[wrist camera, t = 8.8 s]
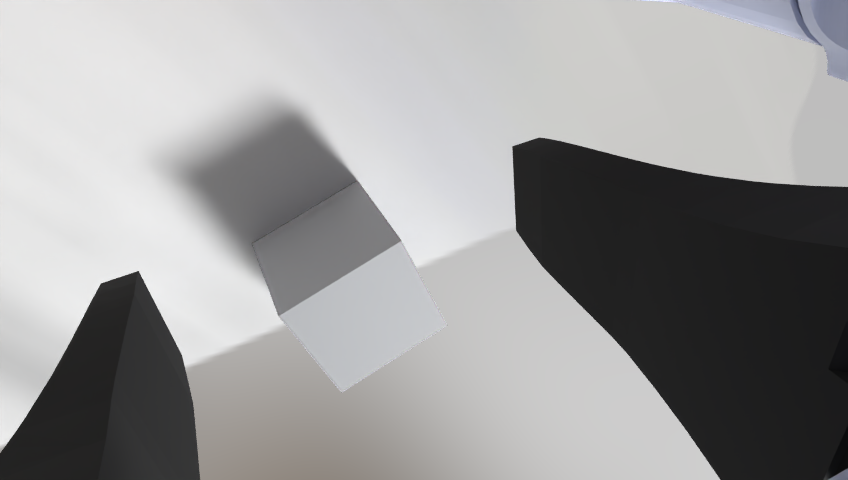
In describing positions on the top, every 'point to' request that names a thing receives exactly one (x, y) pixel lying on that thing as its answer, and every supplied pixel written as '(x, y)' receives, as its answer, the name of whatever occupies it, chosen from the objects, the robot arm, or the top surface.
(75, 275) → the top surface
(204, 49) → the top surface
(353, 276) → the grey cube
